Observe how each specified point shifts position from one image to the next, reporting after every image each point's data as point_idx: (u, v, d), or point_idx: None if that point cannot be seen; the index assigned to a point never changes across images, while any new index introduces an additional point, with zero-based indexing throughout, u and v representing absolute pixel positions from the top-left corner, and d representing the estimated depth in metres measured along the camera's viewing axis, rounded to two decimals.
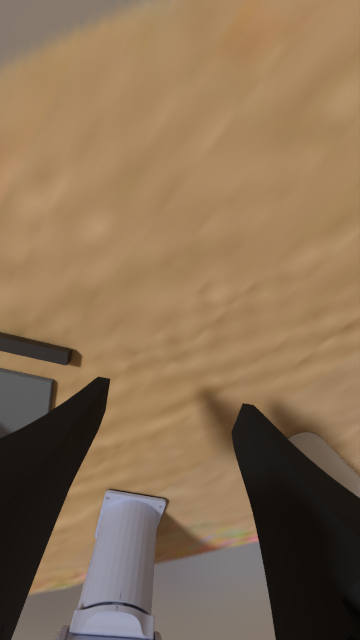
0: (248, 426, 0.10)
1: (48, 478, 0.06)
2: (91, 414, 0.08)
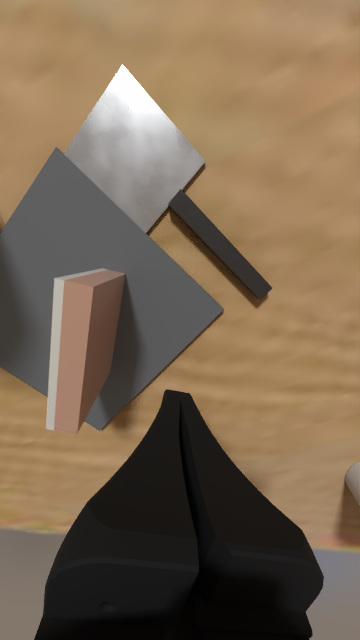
0: None
1: None
2: None
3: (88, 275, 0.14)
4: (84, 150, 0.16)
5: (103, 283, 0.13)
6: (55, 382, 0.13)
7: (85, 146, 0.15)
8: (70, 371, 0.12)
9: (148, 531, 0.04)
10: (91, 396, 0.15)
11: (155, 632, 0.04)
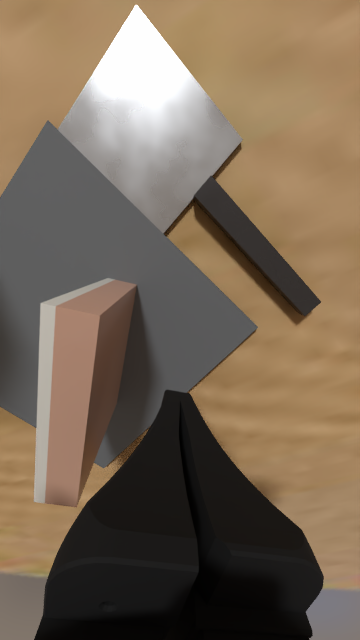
0: None
1: None
2: None
3: (91, 292, 0.10)
4: (85, 125, 0.12)
5: (112, 305, 0.09)
6: (45, 444, 0.09)
7: (86, 120, 0.12)
8: (66, 430, 0.09)
9: (148, 530, 0.04)
10: (95, 447, 0.12)
11: (155, 632, 0.04)
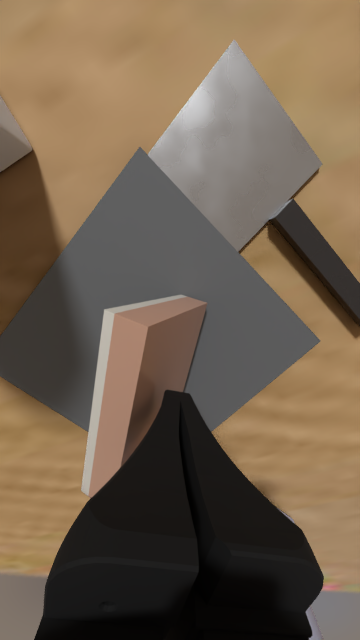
0: None
1: None
2: None
3: (155, 305, 0.10)
4: (174, 151, 0.12)
5: (168, 319, 0.09)
6: (94, 440, 0.10)
7: (175, 146, 0.12)
8: (111, 433, 0.09)
9: (148, 531, 0.04)
10: None
11: (155, 632, 0.04)
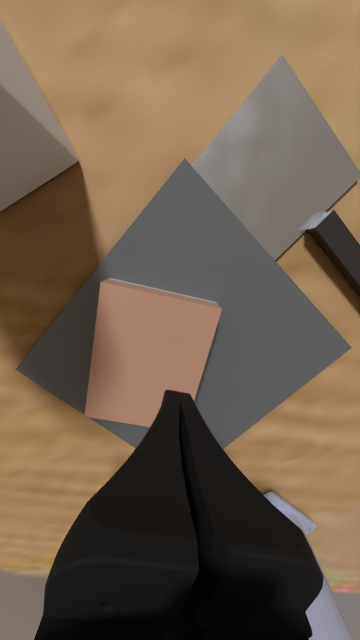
0: None
1: None
2: None
3: (150, 288, 0.14)
4: (217, 162, 0.12)
5: (128, 288, 0.12)
6: None
7: (219, 158, 0.12)
8: None
9: (148, 531, 0.04)
10: (116, 406, 0.15)
11: (155, 632, 0.04)
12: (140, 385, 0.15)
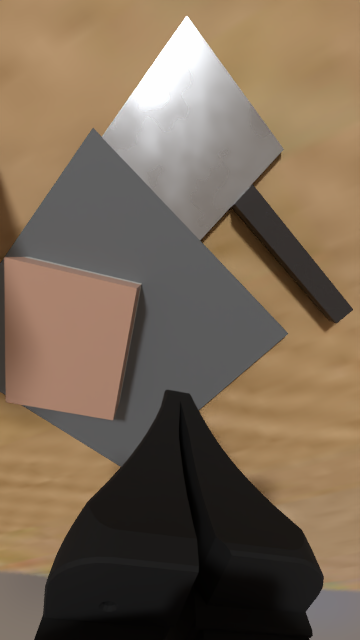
0: None
1: None
2: None
3: (67, 267, 0.13)
4: (129, 133, 0.12)
5: (35, 265, 0.12)
6: None
7: (131, 128, 0.12)
8: None
9: (148, 531, 0.04)
10: (37, 392, 0.14)
11: (155, 632, 0.04)
12: (60, 369, 0.14)
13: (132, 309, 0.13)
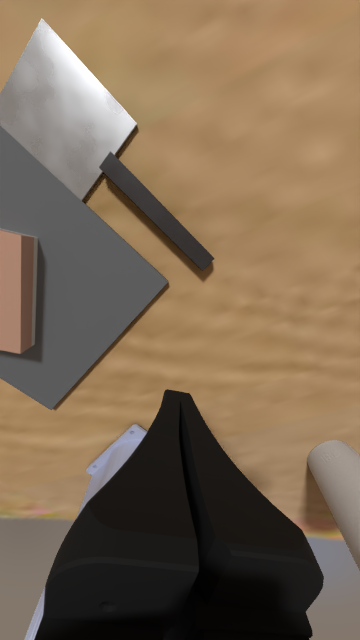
0: None
1: None
2: None
3: None
4: (10, 111, 0.15)
5: None
6: None
7: (11, 107, 0.15)
8: None
9: (148, 530, 0.04)
10: None
11: (155, 632, 0.04)
12: None
13: (20, 254, 0.16)
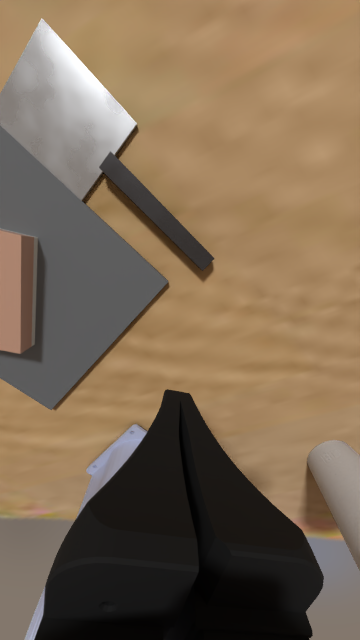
0: None
1: None
2: None
3: None
4: (10, 111, 0.15)
5: None
6: None
7: (11, 107, 0.15)
8: None
9: (148, 530, 0.04)
10: None
11: (155, 632, 0.04)
12: None
13: (20, 254, 0.16)
